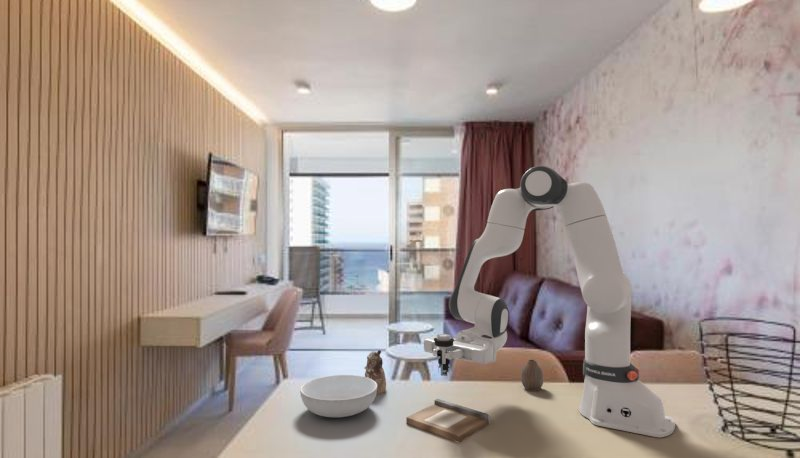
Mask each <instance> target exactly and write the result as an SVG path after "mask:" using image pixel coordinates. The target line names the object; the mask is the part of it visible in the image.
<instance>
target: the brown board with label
mask: <svg viewBox="0 0 800 458" xmlns="http://www.w3.org/2000/svg"><path fill="white" fill-rule="evenodd" d="M405 420H406V421H405V422H406V424H408V425H411V426H412V427H413V426H414V427H416V428H419V429H421V430H424V431H427V432H429V433H432V434H436V435H438V436H441V437H444V438H446V439H448V440H451V441H454V442H457V443H461V442H462V441H463V440H466V439H467V438H468V437H470V436H472V435H474V434H475V433H477V432H478V431H480V430H481V429H483V428H485V427H486V426H488V425H489V423H490V422H489V421H490V419H489V413H486V412H483V411H479V410H476V409H473V408H469V407H465V406H462V405H461V404H460V405H459V404H456V403H453V402H449V401H446V400H443V399H439V398H436V399H435V400H433V404H431V405H430V406H428V407H427V406H426V407H425V408H423V409H421V410H419V411H417V412H414V413H412V414H411V415H407V416H406V419H405Z"/></svg>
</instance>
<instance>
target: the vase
mask: <svg viewBox="0 0 800 458" xmlns="http://www.w3.org/2000/svg"><path fill="white" fill-rule="evenodd" d="M544 378H545V376H544V372H543V370H542V368H541V366H539V364H538V362H537V360H536V359H528V360H527V362H526V364H525V365H524V366H523V367H522V369H521V372H520V380H521V383H522V386H523V387H524V389H526V390H527V391H530V392H531V391H533V392H534V391H536V392H537V391H539V390H540V389H541V388H542V387H543V385H544V382H545V379H544Z"/></svg>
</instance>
